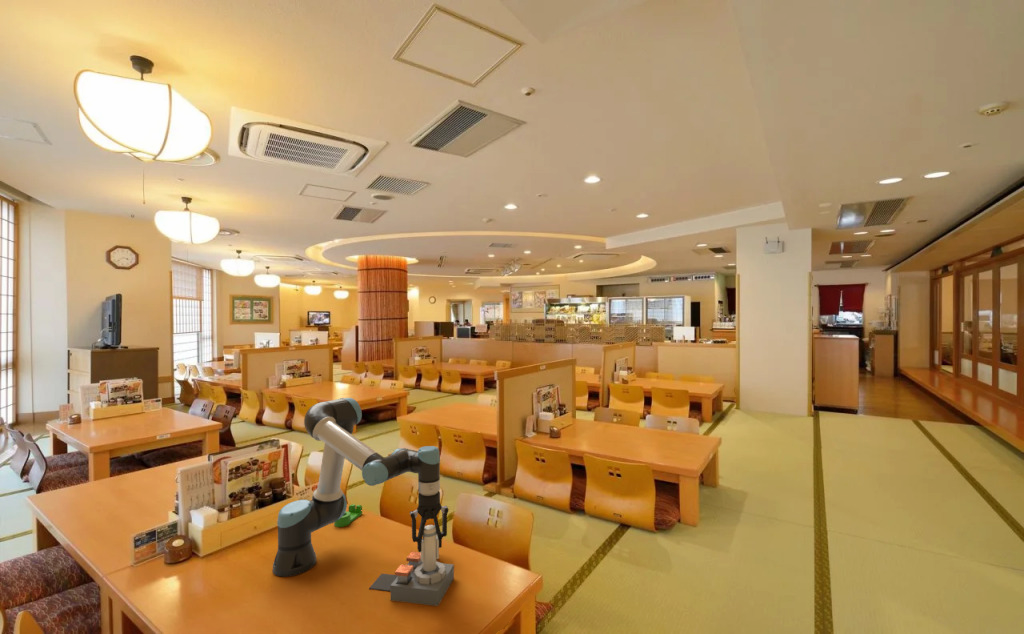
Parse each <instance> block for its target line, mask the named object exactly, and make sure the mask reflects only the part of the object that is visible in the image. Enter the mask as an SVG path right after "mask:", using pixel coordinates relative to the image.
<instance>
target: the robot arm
mask: <svg viewBox="0 0 1024 634" xmlns="http://www.w3.org/2000/svg"><path fill="white" fill-rule="evenodd" d="M362 413H363V412H362V408H361V406H360V405H359V402H358V401H356V400H355V398H353V397H341V398H338V399H337V398H336V399H332V400H328V401H327V400H326V401H321V402H320V401H319V402H318V403H315V404H313V405H312V406H311V407H309V408H308V409H307V411H306V413H305V415H304V419H303V425H304V429H305V430H306V432H307V434H308V435H309V436H310V437H311V438H313V439H314V440H315V441H318V442H319V441H321V442H323V443H324V446H323V453H322V459H321V464H320V472H319V478H318V484H317V488H316V489H314V491H312V497H311V499H310V500H308V499H299V500H294V501H292V502H289V503H287V504H286V505H285V504H284V506H283V507H281V509H280V510H279V512H278V515H277V521H276V525H277V550H276V554H275V556H274V560H273V563H272V573H273V574H274V575H275V576H277V577H283V578H284V577H294V576H297V575H301V574H303V573H305V572H308V571H309V570H311V569H312V568H313V567H314V566H315V565H316V563H317V554H316V551H315V550H314V547H313V544H312V533H314V532H315V531H318V530H320V529H322V528H325V527H326V526H328V525H330V524H334V522H335V521H337V520H338V519H340V518H341V517H342V516H343V515H344V514H345V511H347V507H348V502H347V500H346V499H347V498H346V495H345V493H344V492H343V490H342V489H341V484H342V483H341V482H342V477H343V469H344V464H345V459H346V460H347V461H348V462H349V463H350V464H352V465H354V466H355V467H356V468H358V469H359V470H360V471H361V476H362V479H363V480H364V483H365V484H366V485H368V486H372V487H374V486H376V485H380V484H383V483H385V482H387V481H389V480H392V479H394V478H396V477H399V476H401V475H404V474H405V473H413V474H418V475H417V482H418V485H417V486H418V489H417V490H418V493H417V494H418V495H417V496H418V499H417V500H418V505H417V507H416V509H415V510H410V511H409V516H410V518H411V539H412V542H413V543H417V546H416V547H417V552H420V551H421V561H422V562H424V542H423V533H424V528H425V526H426V524H427V521H428V520H433V524H434V526H435V527H436V532H437V536H438V537H436V558H437V560H438V559H440V548H442V546H443V545H442V544H443V543H442V542H443V538H444V537H447V536H448V513H449V508H448V506H447V505H441V492H440V490H441V484H440V483H441V482H440V481H441V480H440V477H441V475H440V474H441V473H440V470H441V469H440V468H441V466H440V465H441V456H440V455H441V454H440V449H439V448H438V447H437V446H434V445H431V446H430V445H427V446H425V445H423V446H421V447H419V449H418V450H414V449H411V448H410V449H409V448H405V447H403V448H396V449H395V450H394V451H393V452H392V453H391V454H390V455H388V456H383V455H381V453H379V452H378V451H375V450H374V449H373V448H372V447H370V446H368V445H367V444H366V443H364V442H363V441H361V440H360V439H359V438H357V437H356V436H354V435H353V432H354V428H355V426H356V425H358V424H359V423H360V422H361V421H362V417H363V414H362ZM440 511H441V513H442V514H441V516H442V517H441V523H442V524H441V528H440V523H439V519H438V515H439V513H440ZM418 515H419V516H420V517H421V518H420V525H419V527H418V533H417V519H416V518H417V517H418Z"/></svg>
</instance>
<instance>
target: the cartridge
mask: <svg viewBox="0 0 1024 634" xmlns="http://www.w3.org/2000/svg"><path fill="white" fill-rule="evenodd" d="M422 539H423V542H424V562H423V570H424V571H427V572H430V571H433V570H435V569H436V562H437V561H436V527H435V524H434V525H433V524H428V525H425V528H424V533H423V537H422Z"/></svg>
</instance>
